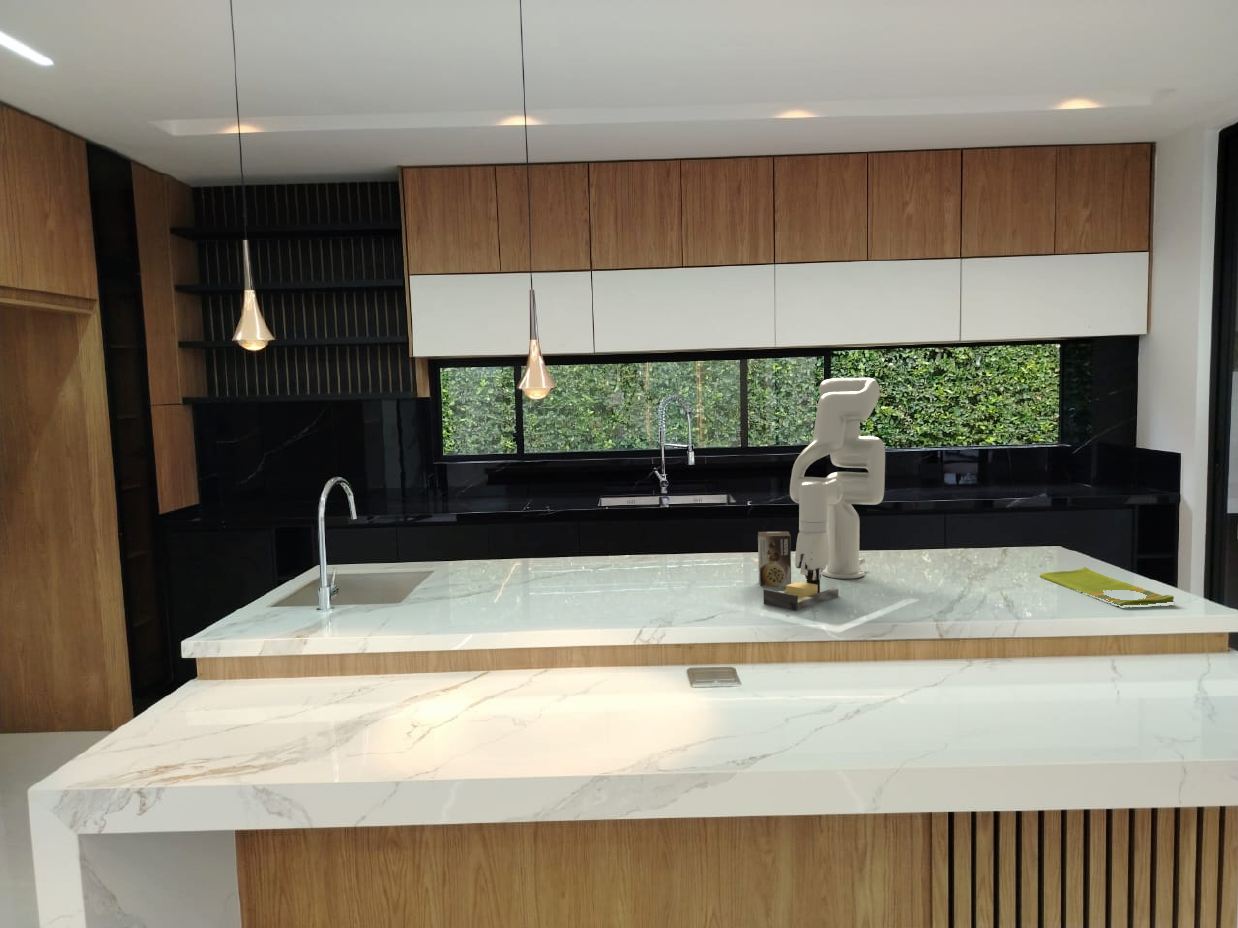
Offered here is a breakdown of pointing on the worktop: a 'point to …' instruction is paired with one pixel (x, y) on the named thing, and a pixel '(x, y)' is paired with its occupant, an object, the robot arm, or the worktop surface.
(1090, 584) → the dish towel
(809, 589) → the block
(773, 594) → the chute
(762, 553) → the coffee box
